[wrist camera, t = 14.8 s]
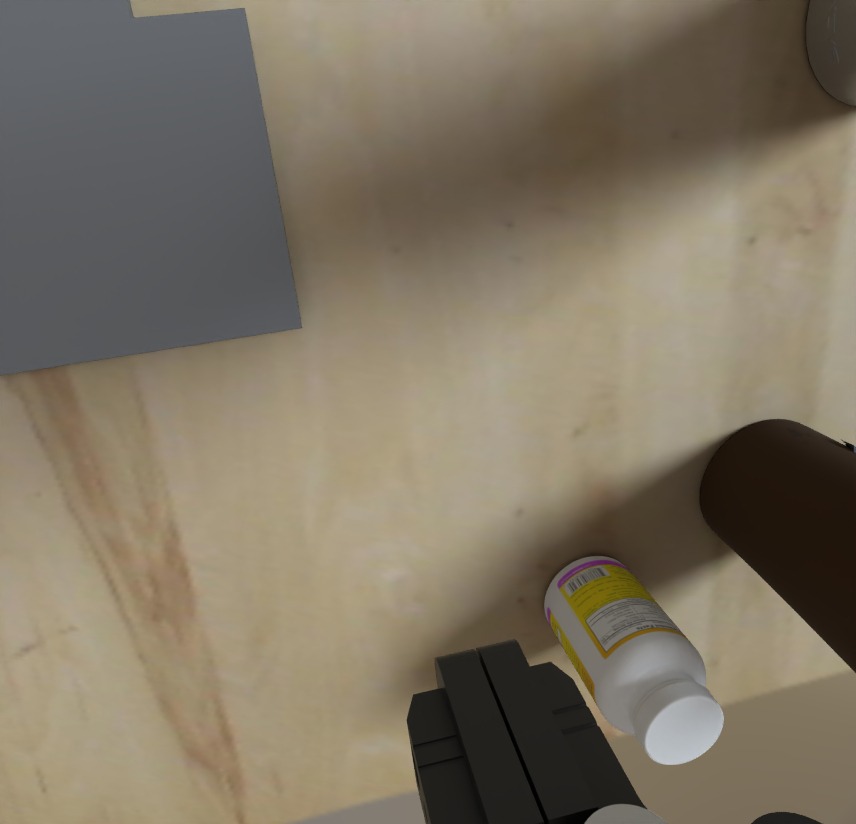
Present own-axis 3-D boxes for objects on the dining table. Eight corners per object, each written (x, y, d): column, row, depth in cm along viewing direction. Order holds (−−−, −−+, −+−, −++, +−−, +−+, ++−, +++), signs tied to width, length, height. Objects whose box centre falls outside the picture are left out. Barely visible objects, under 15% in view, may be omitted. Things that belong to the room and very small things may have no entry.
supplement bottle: (604, 640, 52) (702, 788, 40) (525, 622, 50) (604, 772, 38) (647, 563, 50) (762, 694, 38) (567, 540, 48) (663, 671, 36)
